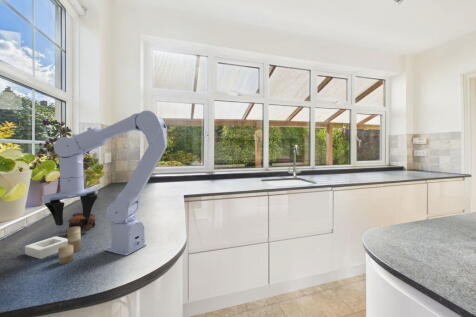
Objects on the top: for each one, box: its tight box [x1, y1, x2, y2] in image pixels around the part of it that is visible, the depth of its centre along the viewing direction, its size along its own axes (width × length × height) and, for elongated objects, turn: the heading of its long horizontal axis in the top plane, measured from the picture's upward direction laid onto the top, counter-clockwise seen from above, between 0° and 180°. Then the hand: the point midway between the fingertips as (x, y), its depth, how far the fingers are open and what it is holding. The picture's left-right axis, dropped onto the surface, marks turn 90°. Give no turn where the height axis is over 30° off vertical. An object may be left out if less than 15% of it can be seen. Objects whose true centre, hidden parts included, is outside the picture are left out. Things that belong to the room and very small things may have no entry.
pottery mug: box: [65, 212, 96, 236], centre depth 83 cm, size 12×10×8 cm
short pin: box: [58, 245, 75, 265], centre depth 59 cm, size 3×3×4 cm
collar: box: [24, 235, 68, 260], centre depth 66 cm, size 8×8×2 cm
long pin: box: [66, 226, 82, 254], centre depth 66 cm, size 3×3×7 cm
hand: (73, 221), depth 66 cm, fingers open, 7 cm apart
